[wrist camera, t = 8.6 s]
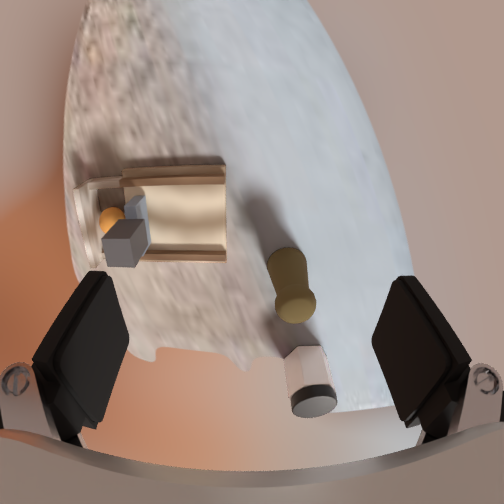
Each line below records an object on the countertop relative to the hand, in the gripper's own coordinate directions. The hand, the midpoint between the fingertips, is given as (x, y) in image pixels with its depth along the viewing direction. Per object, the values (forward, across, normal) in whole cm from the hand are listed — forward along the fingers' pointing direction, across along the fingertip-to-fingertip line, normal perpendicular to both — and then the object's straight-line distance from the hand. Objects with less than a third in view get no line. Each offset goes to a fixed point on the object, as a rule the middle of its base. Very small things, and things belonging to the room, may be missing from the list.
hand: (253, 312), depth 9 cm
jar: (+30, -12, +39) cm, 51 cm away
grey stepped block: (+29, +14, +9) cm, 33 cm away
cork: (+30, -6, +17) cm, 35 cm away
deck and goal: (+30, +14, +9) cm, 34 cm away
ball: (+28, +19, +9) cm, 35 cm away
